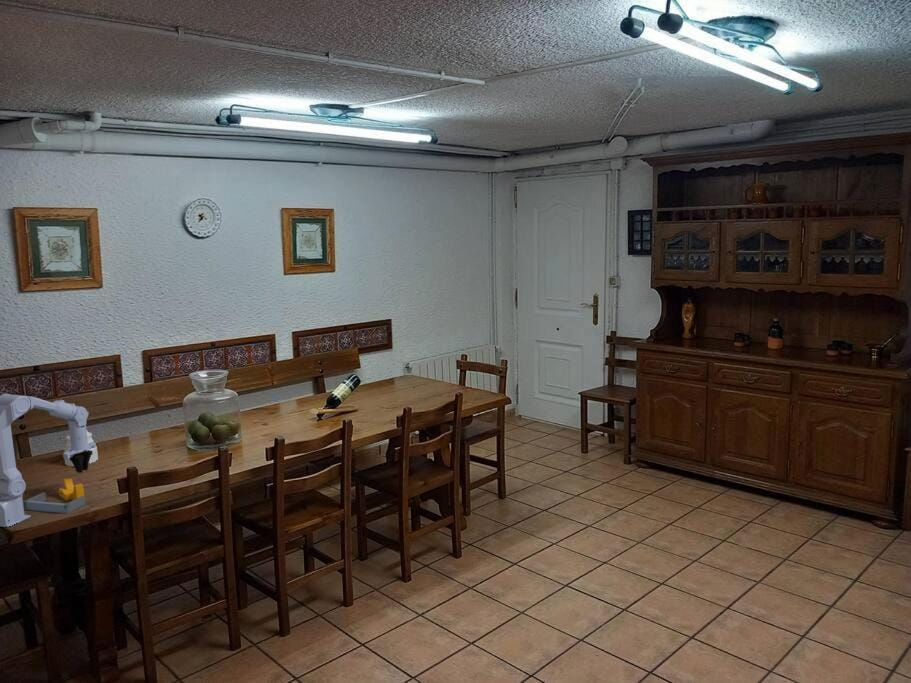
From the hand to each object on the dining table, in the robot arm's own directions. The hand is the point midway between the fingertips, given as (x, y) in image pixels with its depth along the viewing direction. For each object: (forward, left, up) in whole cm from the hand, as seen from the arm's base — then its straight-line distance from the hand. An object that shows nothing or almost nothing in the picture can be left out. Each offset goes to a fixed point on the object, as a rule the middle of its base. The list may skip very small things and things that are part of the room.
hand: (82, 471), depth 268 cm
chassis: (-14, 0, -8) cm, 16 cm away
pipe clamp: (-7, 0, -9) cm, 11 cm away
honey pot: (+32, +29, -9) cm, 43 cm away
